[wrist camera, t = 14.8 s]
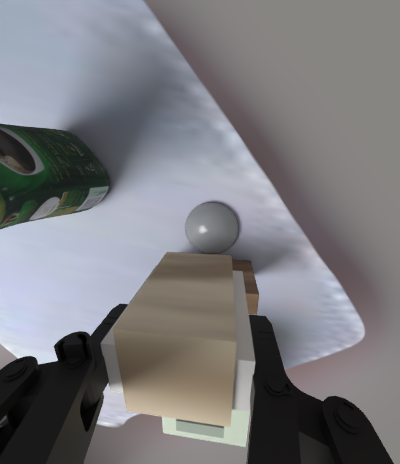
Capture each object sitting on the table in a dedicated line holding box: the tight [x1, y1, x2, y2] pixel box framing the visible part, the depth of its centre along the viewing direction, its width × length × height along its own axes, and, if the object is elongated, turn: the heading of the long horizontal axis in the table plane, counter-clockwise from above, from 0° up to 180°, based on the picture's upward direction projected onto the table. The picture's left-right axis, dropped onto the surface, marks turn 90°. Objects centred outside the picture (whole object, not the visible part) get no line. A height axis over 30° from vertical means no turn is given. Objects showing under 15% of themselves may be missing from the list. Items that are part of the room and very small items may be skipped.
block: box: [112, 252, 237, 427], centre depth 11 cm, size 4×4×7 cm
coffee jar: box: [0, 124, 109, 229], centre depth 18 cm, size 10×8×19 cm
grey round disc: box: [185, 203, 238, 254], centre depth 26 cm, size 7×7×1 cm
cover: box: [162, 409, 250, 447], centre depth 24 cm, size 11×12×5 cm
